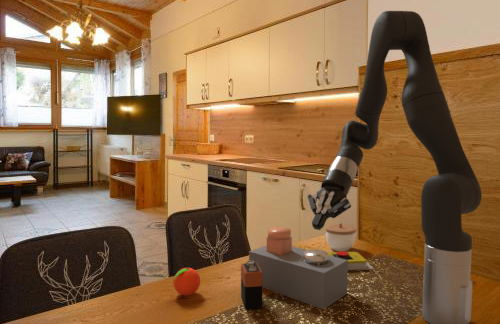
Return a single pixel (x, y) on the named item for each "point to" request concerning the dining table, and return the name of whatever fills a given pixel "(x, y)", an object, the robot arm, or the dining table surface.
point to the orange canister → (279, 240)
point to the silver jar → (315, 257)
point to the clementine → (186, 281)
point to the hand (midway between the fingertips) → (316, 227)
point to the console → (302, 276)
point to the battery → (251, 285)
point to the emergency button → (352, 260)
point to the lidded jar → (340, 236)
